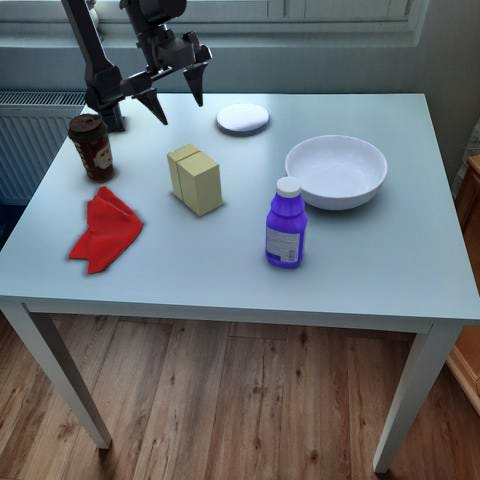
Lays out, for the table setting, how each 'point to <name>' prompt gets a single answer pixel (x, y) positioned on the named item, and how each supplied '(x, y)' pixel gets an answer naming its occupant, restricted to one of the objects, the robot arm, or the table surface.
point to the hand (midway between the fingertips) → (184, 115)
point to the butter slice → (172, 161)
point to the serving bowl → (337, 171)
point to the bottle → (286, 225)
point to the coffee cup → (92, 146)
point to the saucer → (243, 119)
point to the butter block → (200, 183)
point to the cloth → (106, 230)
